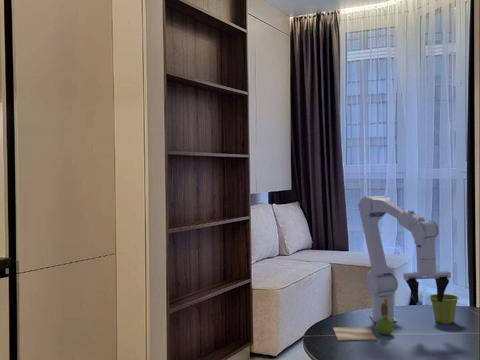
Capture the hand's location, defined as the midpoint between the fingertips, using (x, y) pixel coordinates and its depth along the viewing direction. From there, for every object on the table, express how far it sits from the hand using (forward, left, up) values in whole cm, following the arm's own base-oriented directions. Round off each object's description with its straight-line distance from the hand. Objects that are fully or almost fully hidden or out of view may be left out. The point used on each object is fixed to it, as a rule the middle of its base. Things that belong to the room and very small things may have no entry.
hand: (428, 301), depth 164 cm
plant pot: (-15, +10, -11) cm, 21 cm away
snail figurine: (-1, -13, -11) cm, 17 cm away
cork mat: (-1, -23, -10) cm, 26 cm away
